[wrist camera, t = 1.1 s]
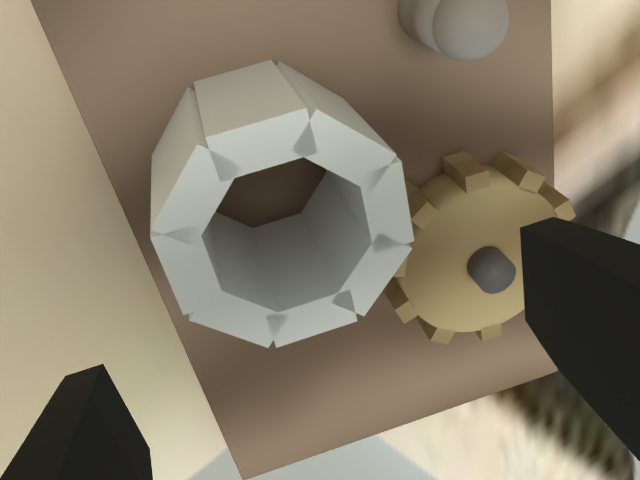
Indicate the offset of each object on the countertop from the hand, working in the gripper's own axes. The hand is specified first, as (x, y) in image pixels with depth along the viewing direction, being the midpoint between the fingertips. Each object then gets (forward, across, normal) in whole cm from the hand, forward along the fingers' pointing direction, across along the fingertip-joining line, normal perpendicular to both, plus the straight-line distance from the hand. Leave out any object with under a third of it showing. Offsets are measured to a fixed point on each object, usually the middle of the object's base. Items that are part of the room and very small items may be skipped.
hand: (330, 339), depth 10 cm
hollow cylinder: (+8, 0, 0) cm, 8 cm away
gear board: (+9, -2, +1) cm, 10 cm away
